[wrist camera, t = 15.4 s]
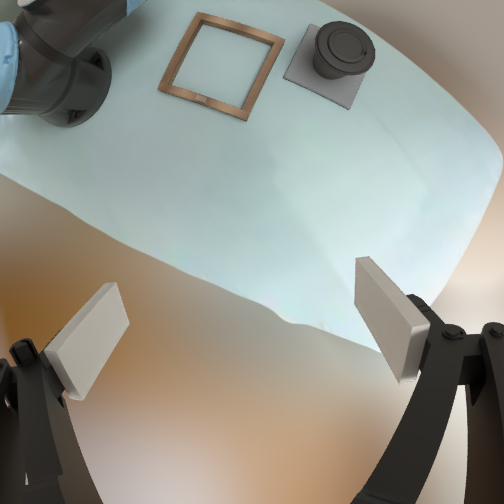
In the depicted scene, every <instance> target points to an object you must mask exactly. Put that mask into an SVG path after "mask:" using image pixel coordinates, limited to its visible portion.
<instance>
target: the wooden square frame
mask: <svg viewBox="0 0 504 504" xmlns="http://www.w3.org/2000/svg"><path fill="white" fill-rule="evenodd" d="M203 24H206V25H210V26H213V27H217V28H220V29H224V30H227V31H230V32H234V33H237V34H240V35H243V36H246V37H249V38H252V39H254V40H257V41H260V42H263V43H265V44H268V45H271V46H273V47H272V49H271V51H270V52H269V54H268V56H267V58H266V60H265V62H264V64H263V66H262V68H261V70H260V72H259V74H258V76H257V78H256V81H255V83H254V85H253V87H252V89H251V91H250V93H249V95H248V97H247V99H246V101H245V104H244V106H243V108H242V110H241V109H239V108H236V107H233V106H231V105H228V104H226V103H223V102H220V101H217V100H215V99H212V98H209V97H206V96H203V95H200V94H197V93H194V92H191V91H188V90H185V89H182V88H179V87H176V86H172V83H173V81H174V79H175V77H176V75H177V73H178V70H179V68H180V66H181V64H182V62H183V60H184V58H185V56H186V54H187V52H188V51H189V49H190V47H191V45H192V43H193V41H194V39H195V37H196V35H197V34H198V32H199V30H200V28H201V26H202V25H203ZM284 42H285V39H283V38H280V37H278V36H275V35H273V34H270V33H267V32H264V31H262V30H259V29H256V28H253V27H250V26H247V25H244V24H241V23H238V22H234V21H231V20H228V19H224V18H220V17H217V16H213V15H209V14H205V13H201V12H197V13H196V15H195V17H194V18H193V20H192V22H191V23H190V25H189V27H188V29H187V31H186V32H185V34H184V36H183V38H182V40H181V42H180V43H179V45H178V47H177V49H176V51H175V53H174V55H173V57H172V59H171V61H170V63H169V65H168V67H167V69H166V71H165V73H164V76H163V78H162V80H161V82H160V84H159V86H158V90H160V91H162V92H165V93H168V94H172V95H175V96H178V97H181V98H184V99H187V100H190V101H193V102H196V103H199V104H202V105H204V106H207V107H210V108H213V109H216V110H218V111H221V112H224V113H226V114H229V115H231V116H234V117H237V118H239V119H242V120H244V121H247V119H248V117H249V115H250V113H251V110H252V108H253V106H254V104H255V102H256V100H257V98H258V95H259V93H260V91H261V89H262V87H263V85H264V83H265V81H266V79H267V77H268V75H269V73H270V71H271V69H272V67H273V65H274V63H275V61H276V59H277V57H278V55H279V53H280V51H281V49H282V47H283V45H284Z"/></svg>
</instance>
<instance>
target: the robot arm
mask: <svg viewBox="0 0 504 504" xmlns="http://www.w3.org/2000/svg"><path fill="white" fill-rule="evenodd" d="M145 1H146V0H18V5H19V6H20V7H22V8H23V9H24V10H23V11H22V12H21V13H20V15H19V16H18V17H17V18H16V19H15V20H14V21H13V22H12V23H11V22H8V21H7V22H0V115H3V114H27V115H39V116H40V117H42V118H43V119H44V120H46V121H47V122H49V123H50V124H53V125H55V126H62V127H71V126H76V125H79V124H81V123H83V122H85V121H86V120H88V119H89V118H90V117H91V116H92V115H93V114H94V113H95V112H96V111H97V110H98V109H99V107H100V106H101V105H102V103H103V101H104V100H105V98H106V95H107V93H108V90H109V87H110V82H111V66H110V62H109V60H108V58H107V56H106V55H105V54H104V53H103V52H102V51H101V50H99V49H97V48H95V47H93V46H91V44H92V43H93V42H95V41H96V40H97V39H98V38H99V37H100V36H102V35H103V34H104V33H105V32H106V31H108V30H109V29H110V28H111V27H113V26H114V25H115V24H116V23H118V22H119V21H120V20H122V19H123V18H127V17H128V16H129V15H130V13H131V12H132V11H134V10H135V9H136V8H137V7H139V6H140V5H142V4H143V3H144V2H145ZM354 304H355V306H356V308H357V309H358V311H359V313H360V314H361V316H362V318H363V320H364V321H365V323H366V325H367V327H368V328H369V330H370V332H371V334H372V335H373V337H374V339H375V341H376V343H377V344H378V346H379V348H380V350H381V352H382V353H383V355H384V357H385V359H386V361H387V363H388V364H389V366H390V368H391V370H392V372H393V374H394V375H395V378H396V379H397V381H398V383H399V384H403V383H407V382H411V381H414V380H416V378H417V374H418V371H419V369H420V371H421V375H420V377H419V380H418V382H417V385H416V387H415V390H414V392H413V394H412V397H411V399H410V402H409V404H408V406H407V408H406V410H405V413H404V415H403V417H402V419H401V421H400V423H399V425H398V427H397V429H396V431H395V433H394V435H393V437H392V439H391V441H390V443H389V445H388V446H387V449H386V451H385V452H384V454H383V456H382V457H381V459H380V461H379V463H378V464H377V466H376V468H375V469H374V471H373V473H372V475H371V476H370V477H369V479H368V481H367V483H366V484H365V485H364V487H363V488H362V490H361V491H360V492H359V493H358V494H357V495H356V497H355V498H354V499H353V501H352V502H351V503H350V504H415V503H416V501H417V499H418V497H419V495H420V493H421V490H422V488H423V486H424V484H425V482H426V479H427V477H428V475H429V472H430V470H431V468H432V465H433V463H434V460H435V458H436V455H437V452H438V450H439V447H440V444H441V441H442V438H443V436H444V432H445V430H446V426H447V423H448V420H449V417H450V413H451V410H452V406H453V402H454V399H455V395H456V391H457V386H458V385H465V391H466V403H467V426H468V456H467V476H466V489H465V498H464V504H504V325H503V324H500V323H496V322H490V323H487V324H485V325H484V327H483V329H482V332H481V334H469V335H467V334H466V332H465V331H464V329H462V328H461V327H459V326H457V325H453V324H445V323H444V322H443V321H442V320H441V319H440V318H439V317H438V315H437V314H436V313H435V312H434V311H433V310H431V308H430V307H429V306H427V304H426V303H425V302H424V301H423V300H422V299H421V298H419V297H418V296H416V295H414V294H410V295H405V294H404V293H403V292H402V291H401V290H400V289H399V287H398V286H397V285H396V284H395V283H394V282H393V281H392V280H391V279H390V278H389V277H388V276H387V275H386V274H385V273H384V271H383V270H382V269H381V268H380V267H379V266H378V265H377V264H376V263H375V262H374V261H373V260H372V259H371V258H370V257H369V256H368V257H360V258H356V267H355V299H354ZM128 325H129V320H128V317H127V314H126V311H125V308H124V305H123V302H122V299H121V296H120V293H119V289H118V286H117V283H116V282H114V283H105V284H104V285H103V286H102V287H101V288H100V289H99V290H98V291H97V292H96V293H95V294H94V295H93V296H92V297H91V299H90V300H89V301H88V302H87V303H86V304H85V305H84V306H83V307H82V308H81V309H80V310H79V311H78V312H77V313H76V315H75V316H74V317H73V318H72V319H71V320H70V321H69V322H68V323H67V324H66V326H65V327H64V328H62V329H61V330H60V331H59V332H58V333H57V334H56V335H55V337H53V339H52V340H51V341H50V342H49V343H48V344H47V345H46V346H45V348H44V349H43V350H42V351H41V352H40V353H39V354H38V352H37V350H36V348H35V346H34V344H33V342H32V340H31V339H29V338H28V339H26V338H25V339H22V340H20V341H18V342H16V343H14V344H13V345H12V346H11V348H10V350H9V352H10V354H11V355H12V357H13V359H14V361H15V363H16V364H17V366H15V367H10V365H9V363H8V362H7V360H6V359H4V358H3V359H0V504H103V502H102V500H101V498H100V496H99V494H98V492H97V489H96V487H95V485H94V483H93V480H92V478H91V476H90V473H89V471H88V468H87V466H86V463H85V461H84V458H83V456H82V453H81V450H80V447H79V445H78V442H77V439H76V436H75V433H74V430H73V426H72V423H71V420H70V416H69V413H68V409H67V405H66V402H65V399H64V398H63V396H62V393H63V391H64V390H66V392H67V393H68V395H69V397H70V398H71V399H77V400H82V401H83V400H84V398H85V397H86V395H87V393H88V391H89V390H90V388H91V386H92V384H93V383H94V381H95V379H96V378H97V376H98V374H99V372H100V371H101V369H102V367H103V366H104V364H105V362H106V361H107V359H108V357H109V356H110V354H111V353H112V351H113V349H114V348H115V346H116V344H117V343H118V341H119V340H120V338H121V336H122V335H123V333H124V332H125V330H126V329H127V327H128ZM5 400H6V401H7V403H8V404H9V406H8V407H7V405H6V403H5ZM26 474H27V478H28V485H26V486H25V479H26Z"/></svg>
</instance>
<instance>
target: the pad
mask: <svg viewBox="0 0 504 504" xmlns="http://www.w3.org/2000/svg"><path fill="white" fill-rule="evenodd" d="M319 29H320V27H318V26H315V25H313V24H311V25H310V26H309V28H308V30H307V32H306V34H305V36H304V38H303V40H302V42H301V44H300V46H299V48H298V50H297V52H296V54H295V56H294V58H293V60H292V62H291V64H290V66H289V68H288V70H287V72H286V74H285V76H284V79H286V80H288V81H291V82H293V83H295V84H297V85H300V86H302V87H304V88H306V89H308V90H310V91H312V92H315V93H317V94H319V95H321V96H323V97H325V98H327V99H329V100H331V101H333V102H334V103H336V104H338V105H340V106H342V107H344V108H346V109H348V110H349V109H350V108H351V105H352V103H353V101H354V99H355V96H356V94H357V92H358V90H359V87H360V85H361V83H362V80H363V78H364V76H365V74H366V72H364V73H362V74H360V75H351V76H350V75H347V76H345V77H342V78H339V79H335V80H329V79H325V78H323V77H321V76H320V75H319V74H318V73H317V72H316V71H315V69H314V66H313V57H314V53H315V49H316V48H315V37H316V34H317V32H318V30H319Z"/></svg>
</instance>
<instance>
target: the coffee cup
mask: <svg viewBox="0 0 504 504" xmlns="http://www.w3.org/2000/svg"><path fill="white" fill-rule="evenodd" d="M315 48H316V49H315V53H314V57H313V66H314V69H315V71H316V72H317V73H318V74H319V75H320V76H321V77H323V78H325V79H329V80H335V79H339V78H342V77H345V76H347V75H350V76H351V75H360V74H362V73H364V72H366V71H368V70H369V69H370V67H371V66H372V65H373V63H374V60H375V48H374V45H373V43H372V41H371V39H370V37H369V36H368V35H367V34H366V33H365V32H364V31H363V30H362V29H361V28H359V27H357V26H356V25H353V24H351V23H347V22H342V21H336V22H330V23H328V24H325V25H323V26H322V27H321V28H320V29H319V30H318V32H317V34H316V37H315Z"/></svg>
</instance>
